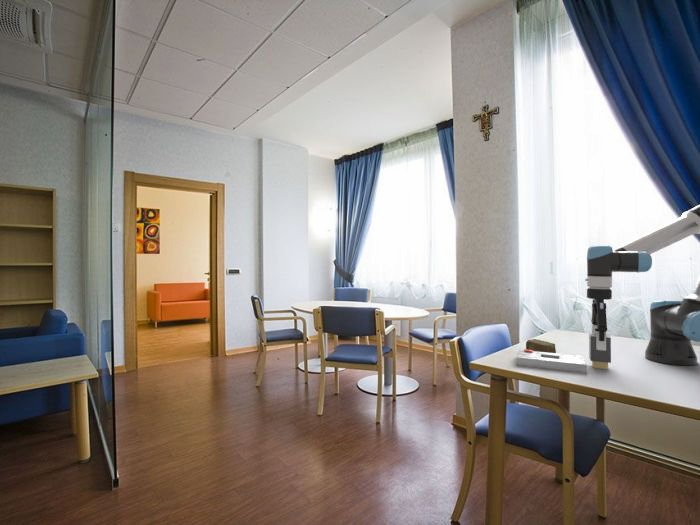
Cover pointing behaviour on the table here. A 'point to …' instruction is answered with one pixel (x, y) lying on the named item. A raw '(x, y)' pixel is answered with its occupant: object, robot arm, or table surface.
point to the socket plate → (551, 361)
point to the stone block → (540, 346)
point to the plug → (599, 352)
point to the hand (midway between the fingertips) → (598, 346)
